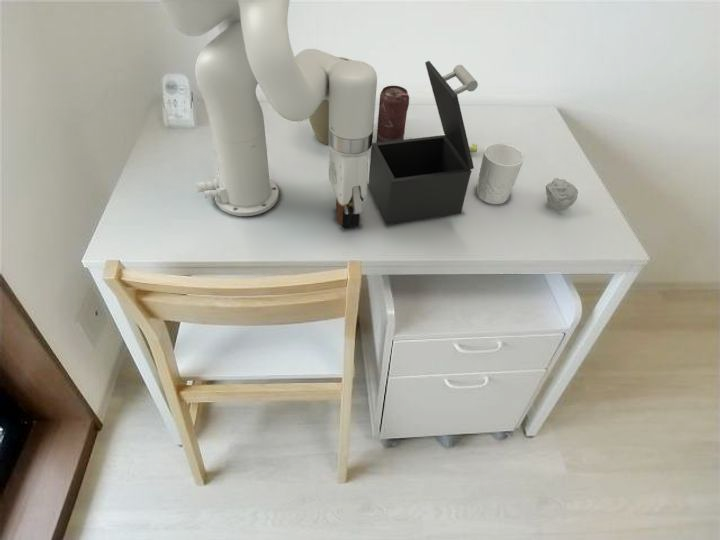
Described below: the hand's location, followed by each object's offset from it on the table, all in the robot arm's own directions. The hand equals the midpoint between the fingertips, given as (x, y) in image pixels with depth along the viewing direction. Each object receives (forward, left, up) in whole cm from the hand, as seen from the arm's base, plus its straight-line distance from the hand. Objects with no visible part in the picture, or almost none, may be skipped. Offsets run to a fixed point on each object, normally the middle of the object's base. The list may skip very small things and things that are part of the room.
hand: (347, 217), depth 102 cm
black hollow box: (+15, +3, 0) cm, 15 cm away
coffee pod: (0, 0, 0) cm, 0 cm away
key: (+29, +18, 0) cm, 34 cm away
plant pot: (+4, +29, 0) cm, 29 cm away
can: (+16, +22, 0) cm, 27 cm away
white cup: (+32, +1, 0) cm, 32 cm away
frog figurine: (+43, -6, 0) cm, 43 cm away
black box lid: (+19, +3, +18) cm, 27 cm away
